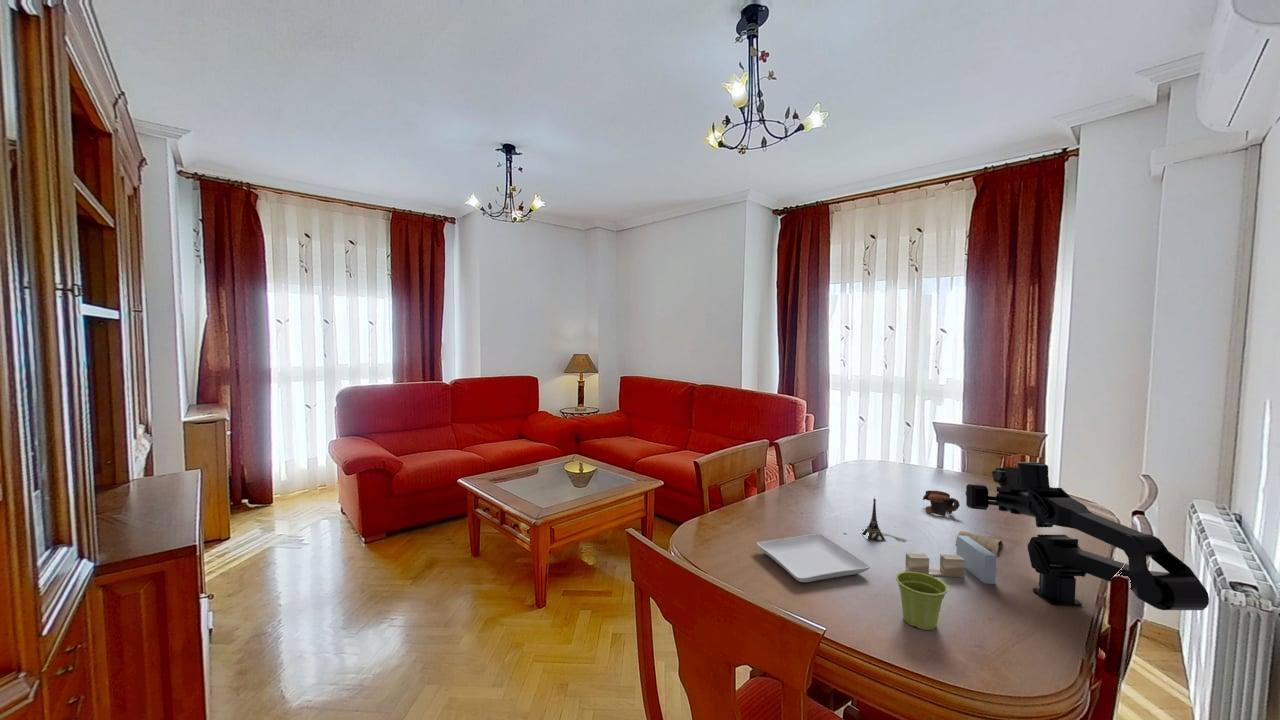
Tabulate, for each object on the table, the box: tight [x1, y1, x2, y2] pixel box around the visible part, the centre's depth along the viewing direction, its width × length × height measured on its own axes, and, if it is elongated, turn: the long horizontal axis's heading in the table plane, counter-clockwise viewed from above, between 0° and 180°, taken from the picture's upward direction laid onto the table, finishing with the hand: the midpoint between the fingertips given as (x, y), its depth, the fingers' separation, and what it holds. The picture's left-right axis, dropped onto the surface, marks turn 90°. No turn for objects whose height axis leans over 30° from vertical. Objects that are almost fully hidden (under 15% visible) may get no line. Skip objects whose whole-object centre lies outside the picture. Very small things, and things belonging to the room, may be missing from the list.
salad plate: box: [756, 533, 871, 583], centre depth 129 cm, size 21×21×3 cm
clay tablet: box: [955, 530, 1003, 558], centre depth 141 cm, size 14×10×3 cm
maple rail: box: [904, 552, 965, 578], centre depth 124 cm, size 3×13×4 cm, turn 86°
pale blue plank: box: [955, 535, 997, 585], centre depth 125 cm, size 12×3×7 cm, turn 176°
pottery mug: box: [922, 490, 960, 517], centre depth 167 cm, size 12×10×8 cm
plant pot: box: [895, 571, 949, 631], centre depth 103 cm, size 9×9×9 cm
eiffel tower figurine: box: [861, 497, 908, 543], centre depth 146 cm, size 15×10×13 cm
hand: (982, 494), depth 137 cm, fingers open, 9 cm apart
